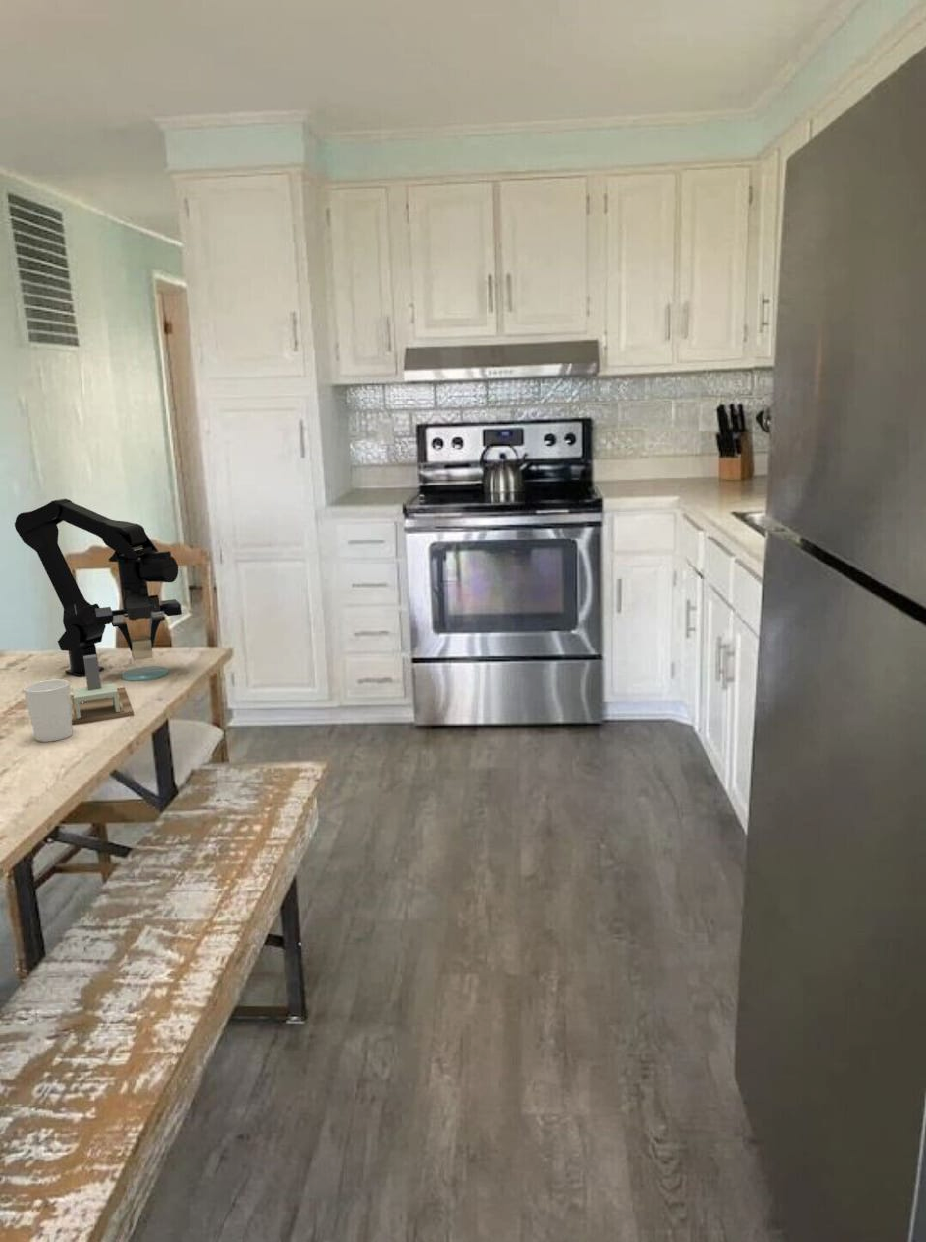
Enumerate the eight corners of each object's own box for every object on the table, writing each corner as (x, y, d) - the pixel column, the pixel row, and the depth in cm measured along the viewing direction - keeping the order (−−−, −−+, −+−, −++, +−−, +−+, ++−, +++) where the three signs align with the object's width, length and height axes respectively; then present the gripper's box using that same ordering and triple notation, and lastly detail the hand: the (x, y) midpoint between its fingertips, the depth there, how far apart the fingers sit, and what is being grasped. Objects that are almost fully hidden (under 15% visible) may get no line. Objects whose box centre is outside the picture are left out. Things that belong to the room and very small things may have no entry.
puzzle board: (60, 701, 207) (59, 695, 207) (125, 691, 212) (124, 685, 212) (64, 727, 190) (63, 721, 190) (134, 716, 195) (133, 709, 195)
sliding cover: (75, 709, 197) (68, 657, 195) (117, 702, 200) (110, 652, 198) (77, 718, 191) (69, 665, 189) (120, 711, 194) (113, 659, 192)
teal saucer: (113, 677, 224) (112, 674, 224) (150, 667, 232) (149, 663, 231) (140, 683, 218) (139, 680, 218) (177, 672, 226) (176, 669, 225)
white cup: (60, 743, 181) (53, 691, 179) (22, 742, 183) (14, 691, 181) (84, 729, 189) (77, 679, 186) (48, 728, 190) (40, 678, 188)
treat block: (132, 656, 225) (130, 639, 224) (150, 653, 226) (148, 636, 225) (134, 660, 221) (132, 642, 220) (152, 657, 223) (150, 640, 222)
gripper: (91, 592, 209) (100, 663, 213) (181, 582, 216) (189, 650, 220) (88, 584, 219) (97, 651, 222) (174, 574, 226) (181, 640, 230)
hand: (141, 648), depth 223 cm, fingers closed on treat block, 4 cm apart
